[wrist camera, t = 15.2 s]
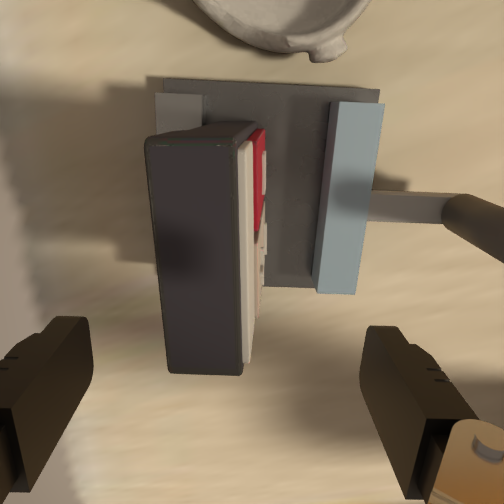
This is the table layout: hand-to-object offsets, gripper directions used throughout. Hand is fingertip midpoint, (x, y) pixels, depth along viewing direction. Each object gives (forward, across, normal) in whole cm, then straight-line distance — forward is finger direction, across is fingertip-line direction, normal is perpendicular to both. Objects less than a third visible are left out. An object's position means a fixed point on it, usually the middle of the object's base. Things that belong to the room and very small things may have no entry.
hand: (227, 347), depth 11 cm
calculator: (+20, 0, 0) cm, 21 cm away
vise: (+22, -2, 0) cm, 22 cm away
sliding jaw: (+20, -12, 0) cm, 24 cm away
